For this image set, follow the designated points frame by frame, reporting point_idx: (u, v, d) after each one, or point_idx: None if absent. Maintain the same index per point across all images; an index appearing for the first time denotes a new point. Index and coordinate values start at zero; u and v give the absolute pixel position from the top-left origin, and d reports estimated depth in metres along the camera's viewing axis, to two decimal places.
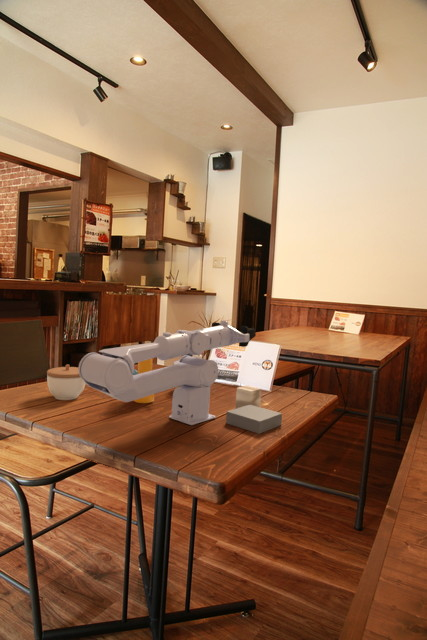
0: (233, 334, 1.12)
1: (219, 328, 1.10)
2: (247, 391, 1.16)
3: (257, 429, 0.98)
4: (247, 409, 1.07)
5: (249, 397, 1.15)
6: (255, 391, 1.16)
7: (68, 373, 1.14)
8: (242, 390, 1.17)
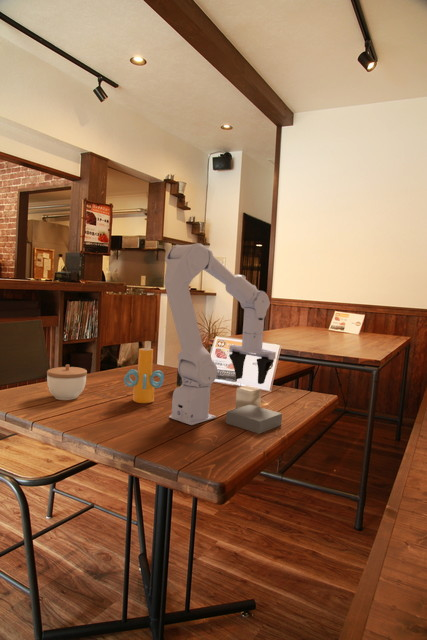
0: (262, 351, 1.16)
1: None
2: (247, 391, 1.16)
3: (257, 429, 0.98)
4: (247, 409, 1.07)
5: (249, 397, 1.15)
6: (255, 391, 1.16)
7: (68, 373, 1.14)
8: (242, 390, 1.17)
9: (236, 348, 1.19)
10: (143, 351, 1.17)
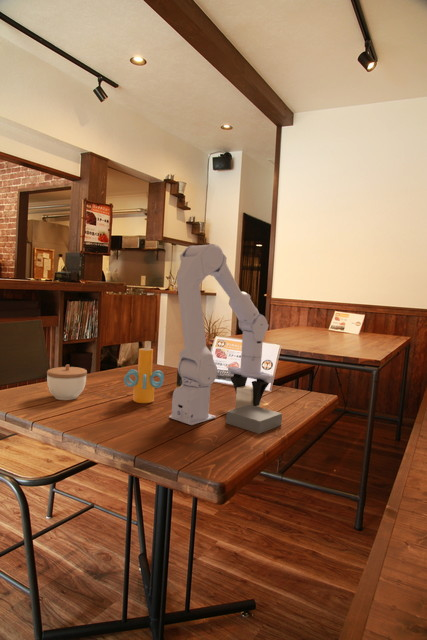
0: None
1: None
2: (247, 391, 1.16)
3: (257, 429, 0.98)
4: (247, 409, 1.07)
5: (249, 397, 1.15)
6: None
7: (68, 373, 1.14)
8: (242, 390, 1.17)
9: (235, 370, 1.19)
10: (143, 351, 1.17)
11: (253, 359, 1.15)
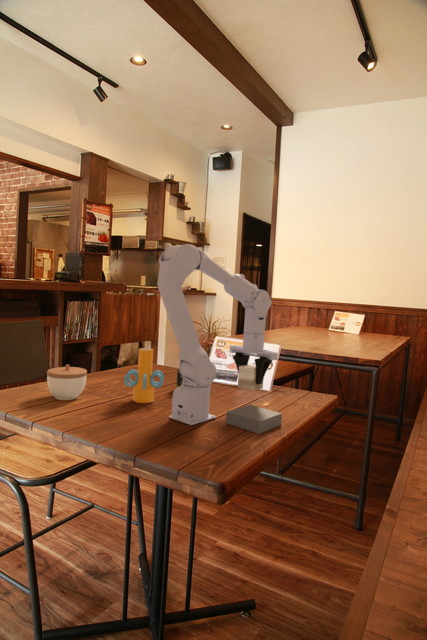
0: (263, 351, 1.13)
1: None
2: (250, 369, 1.12)
3: (257, 429, 0.98)
4: (247, 409, 1.07)
5: (252, 375, 1.12)
6: None
7: (68, 373, 1.14)
8: (245, 368, 1.13)
9: (237, 348, 1.16)
10: (143, 351, 1.17)
11: (256, 336, 1.12)
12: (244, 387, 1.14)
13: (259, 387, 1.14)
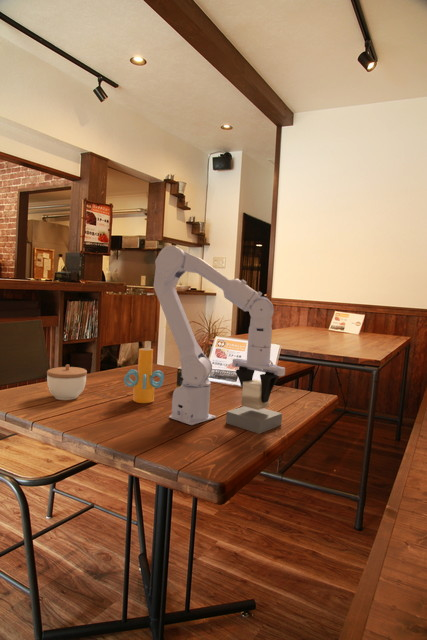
0: (269, 366, 1.02)
1: None
2: (255, 385, 1.02)
3: (257, 429, 0.98)
4: (247, 409, 1.07)
5: (257, 392, 1.01)
6: None
7: (68, 373, 1.14)
8: (249, 384, 1.03)
9: (240, 362, 1.05)
10: (143, 351, 1.17)
11: (261, 349, 1.01)
12: (248, 405, 1.03)
13: (265, 405, 1.04)
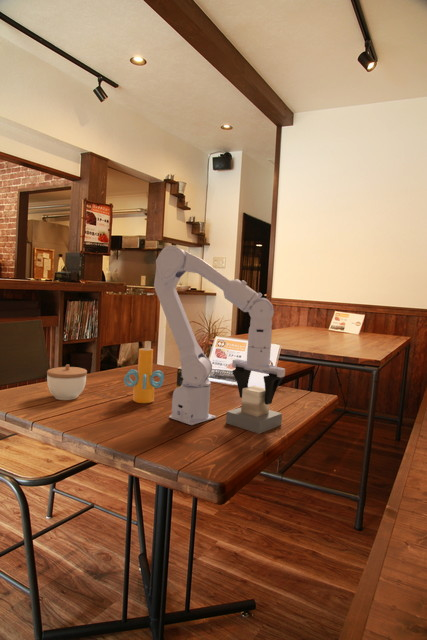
0: (269, 367, 1.03)
1: None
2: (254, 392, 1.02)
3: (257, 429, 0.98)
4: None
5: (256, 399, 1.02)
6: (263, 392, 1.03)
7: (68, 373, 1.14)
8: (249, 391, 1.03)
9: (240, 363, 1.05)
10: (143, 351, 1.17)
11: (261, 350, 1.01)
12: (248, 412, 1.03)
13: (265, 412, 1.04)
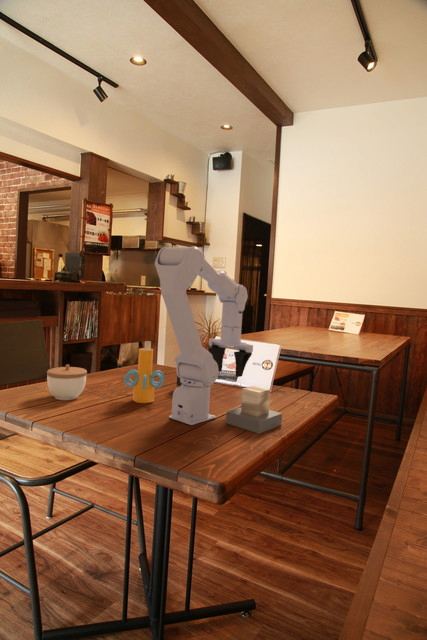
0: (240, 344, 1.17)
1: None
2: (254, 392, 1.02)
3: (257, 429, 0.98)
4: None
5: (256, 399, 1.02)
6: (263, 392, 1.03)
7: (68, 373, 1.14)
8: (249, 391, 1.03)
9: (215, 341, 1.20)
10: (143, 351, 1.17)
11: (232, 329, 1.15)
12: (248, 412, 1.03)
13: (265, 412, 1.04)
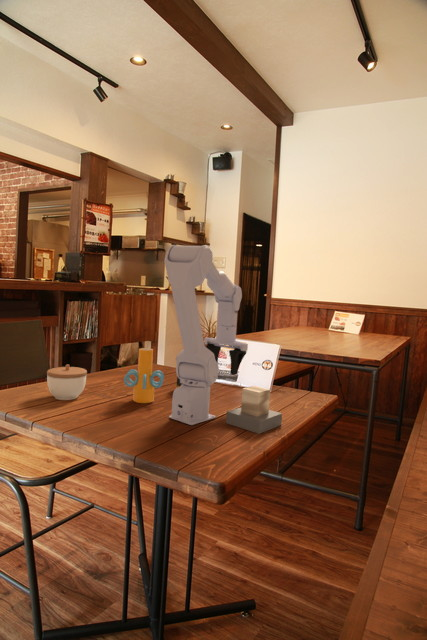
0: (235, 343, 1.19)
1: None
2: (254, 392, 1.02)
3: (257, 429, 0.98)
4: None
5: (256, 399, 1.02)
6: (263, 392, 1.03)
7: (68, 373, 1.14)
8: (249, 391, 1.03)
9: (210, 340, 1.22)
10: (143, 351, 1.17)
11: (228, 328, 1.18)
12: (248, 412, 1.03)
13: (265, 412, 1.04)
